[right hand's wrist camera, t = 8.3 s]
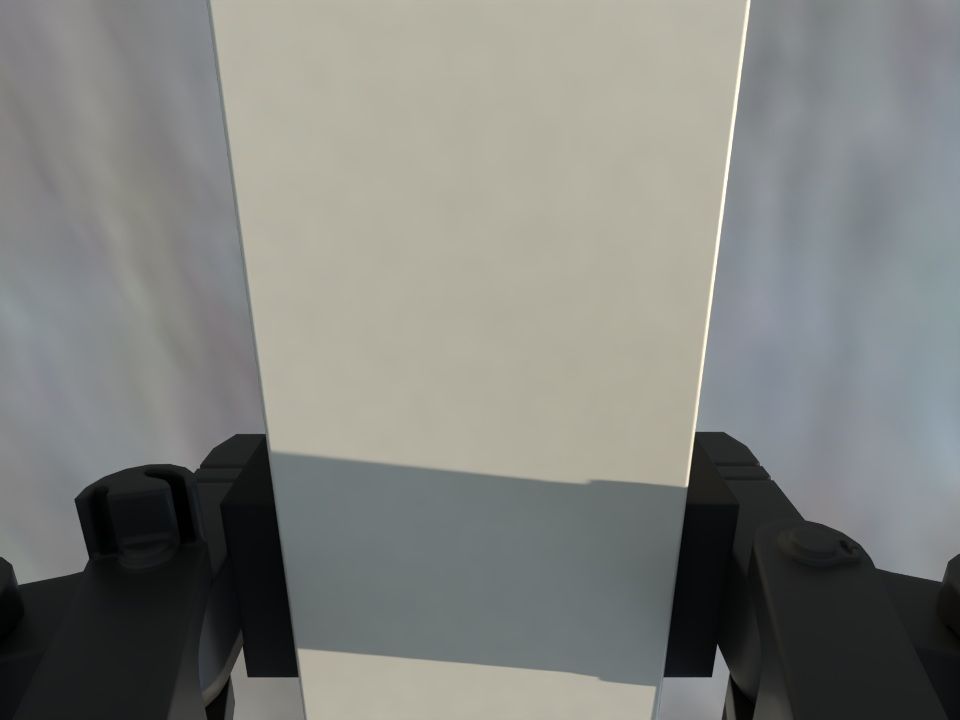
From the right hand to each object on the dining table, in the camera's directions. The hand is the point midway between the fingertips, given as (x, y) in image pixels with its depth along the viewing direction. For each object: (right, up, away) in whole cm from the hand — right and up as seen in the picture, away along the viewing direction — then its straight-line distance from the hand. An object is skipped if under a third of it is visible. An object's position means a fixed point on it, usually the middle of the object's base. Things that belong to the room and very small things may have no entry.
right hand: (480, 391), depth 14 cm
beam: (0, +25, -9) cm, 26 cm away
